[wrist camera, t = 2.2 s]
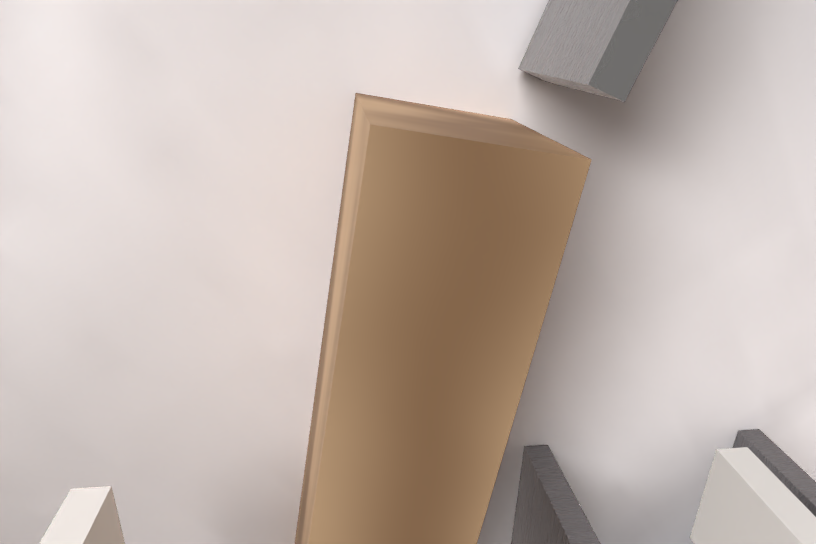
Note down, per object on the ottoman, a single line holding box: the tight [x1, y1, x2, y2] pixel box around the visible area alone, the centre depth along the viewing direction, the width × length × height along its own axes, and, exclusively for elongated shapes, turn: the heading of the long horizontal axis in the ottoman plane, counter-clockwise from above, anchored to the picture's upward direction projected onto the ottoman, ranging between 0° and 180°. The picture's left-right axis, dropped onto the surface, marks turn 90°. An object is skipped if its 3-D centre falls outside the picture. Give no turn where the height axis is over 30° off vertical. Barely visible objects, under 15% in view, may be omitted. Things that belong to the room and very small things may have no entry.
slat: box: [295, 93, 591, 544], centre depth 15 cm, size 4×16×5 cm, turn 170°
